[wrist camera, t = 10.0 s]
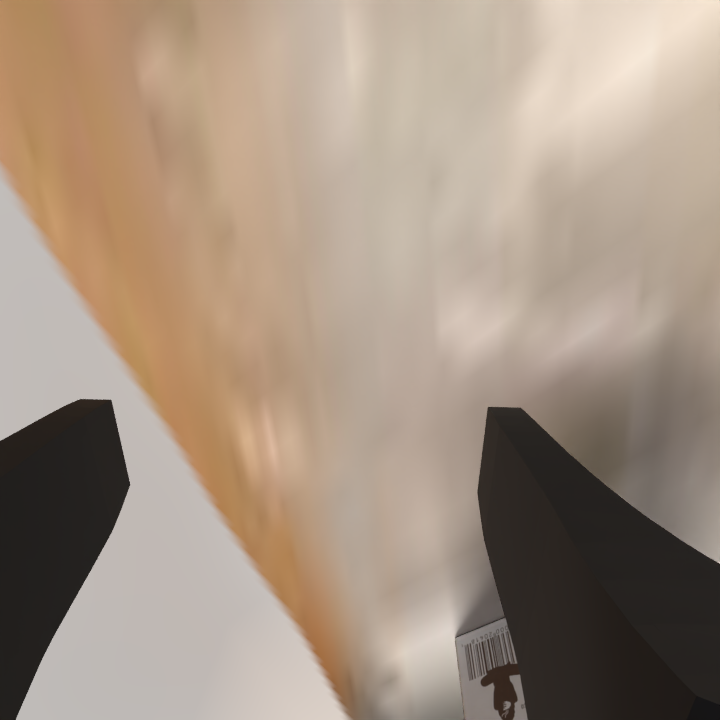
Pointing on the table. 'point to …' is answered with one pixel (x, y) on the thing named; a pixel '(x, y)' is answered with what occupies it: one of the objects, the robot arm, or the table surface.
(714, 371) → the table surface
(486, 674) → the coffee box
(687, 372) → the table surface
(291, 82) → the table surface
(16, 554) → the robot arm
